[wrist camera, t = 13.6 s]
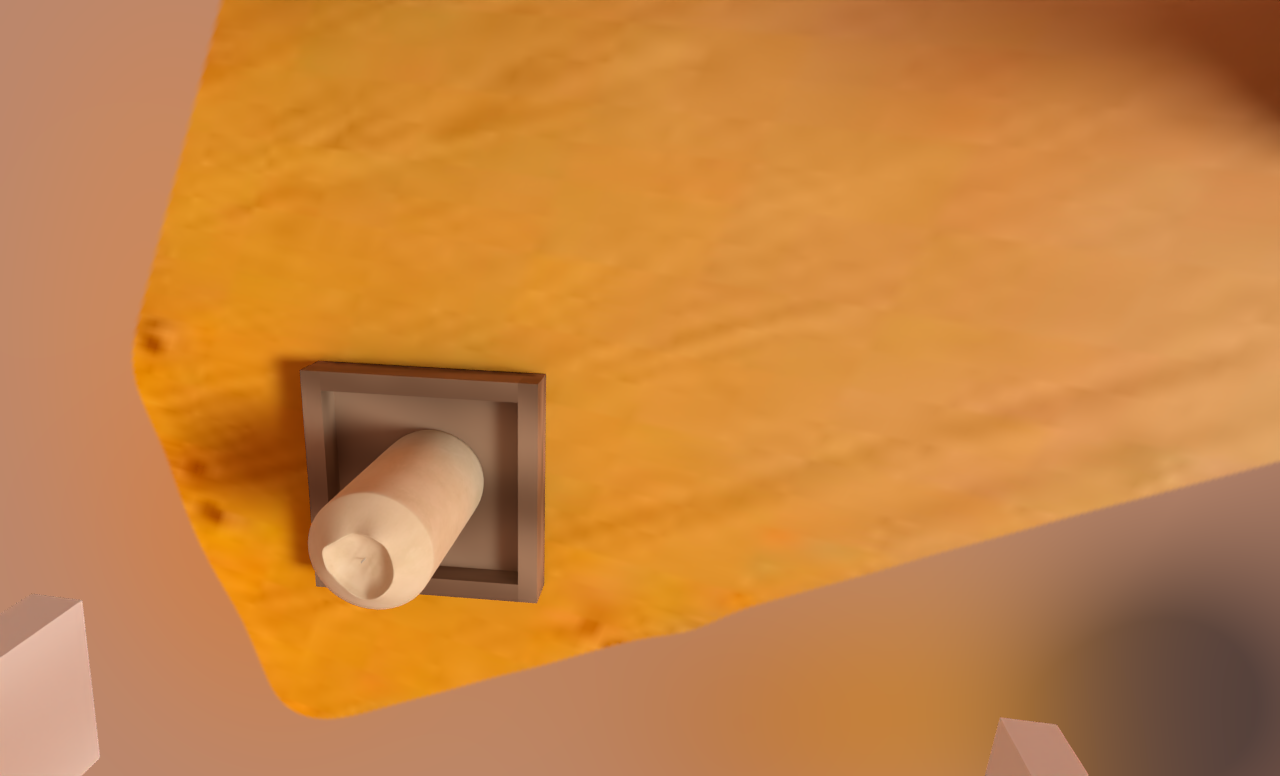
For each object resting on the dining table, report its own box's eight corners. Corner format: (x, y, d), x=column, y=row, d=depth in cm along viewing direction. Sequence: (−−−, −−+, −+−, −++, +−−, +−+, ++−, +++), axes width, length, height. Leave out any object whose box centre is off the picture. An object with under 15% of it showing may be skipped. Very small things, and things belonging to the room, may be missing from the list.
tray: (318, 360, 42) (299, 370, 40) (545, 374, 41) (538, 384, 39) (332, 568, 45) (316, 586, 43) (543, 584, 44) (536, 603, 42)
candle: (364, 484, 42) (266, 577, 33) (418, 407, 41) (333, 480, 31) (448, 544, 43) (377, 652, 33) (505, 469, 42) (448, 559, 32)
